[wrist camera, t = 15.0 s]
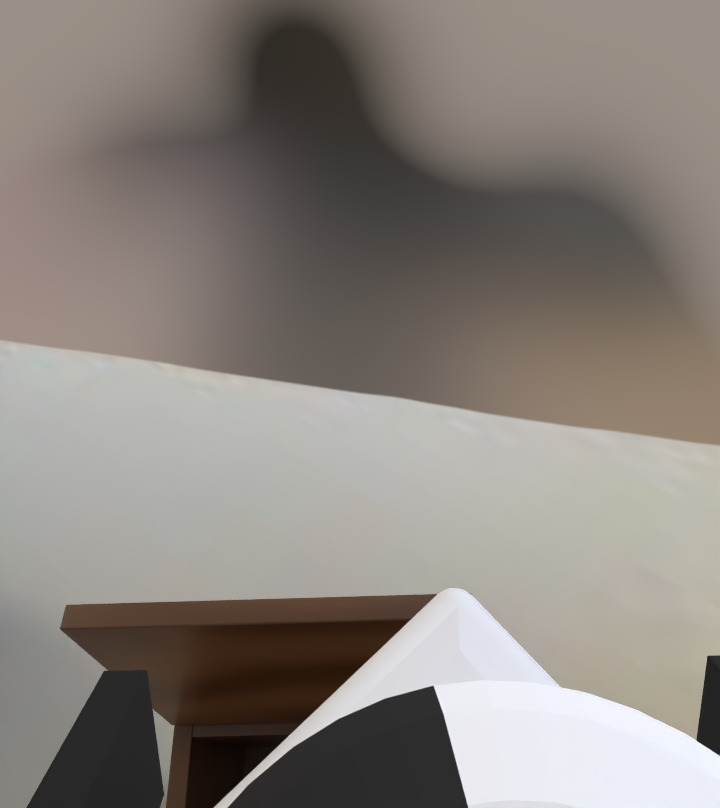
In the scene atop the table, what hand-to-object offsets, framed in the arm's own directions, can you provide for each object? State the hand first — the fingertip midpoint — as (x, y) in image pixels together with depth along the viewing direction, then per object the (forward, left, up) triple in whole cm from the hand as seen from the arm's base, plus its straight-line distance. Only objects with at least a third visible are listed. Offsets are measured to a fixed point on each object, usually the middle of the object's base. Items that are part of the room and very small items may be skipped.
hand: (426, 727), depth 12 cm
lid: (+4, -2, -14) cm, 15 cm away
